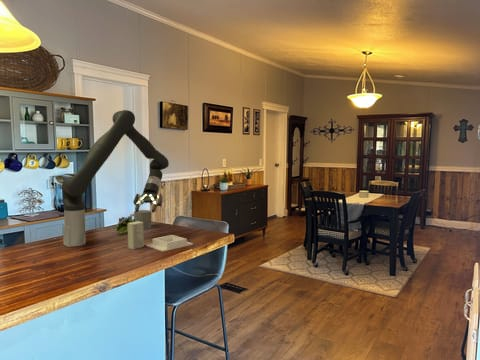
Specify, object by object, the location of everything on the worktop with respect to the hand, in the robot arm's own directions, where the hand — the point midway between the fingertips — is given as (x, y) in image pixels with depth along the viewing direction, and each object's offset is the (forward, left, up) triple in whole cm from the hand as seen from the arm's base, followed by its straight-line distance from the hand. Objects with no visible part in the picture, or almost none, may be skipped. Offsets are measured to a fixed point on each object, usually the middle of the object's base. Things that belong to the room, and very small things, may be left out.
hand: (144, 211), depth 188 cm
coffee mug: (+16, +30, -16) cm, 38 cm away
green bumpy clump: (+2, +22, -16) cm, 27 cm away
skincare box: (-10, -7, -16) cm, 19 cm away
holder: (+4, -15, -15) cm, 22 cm away
